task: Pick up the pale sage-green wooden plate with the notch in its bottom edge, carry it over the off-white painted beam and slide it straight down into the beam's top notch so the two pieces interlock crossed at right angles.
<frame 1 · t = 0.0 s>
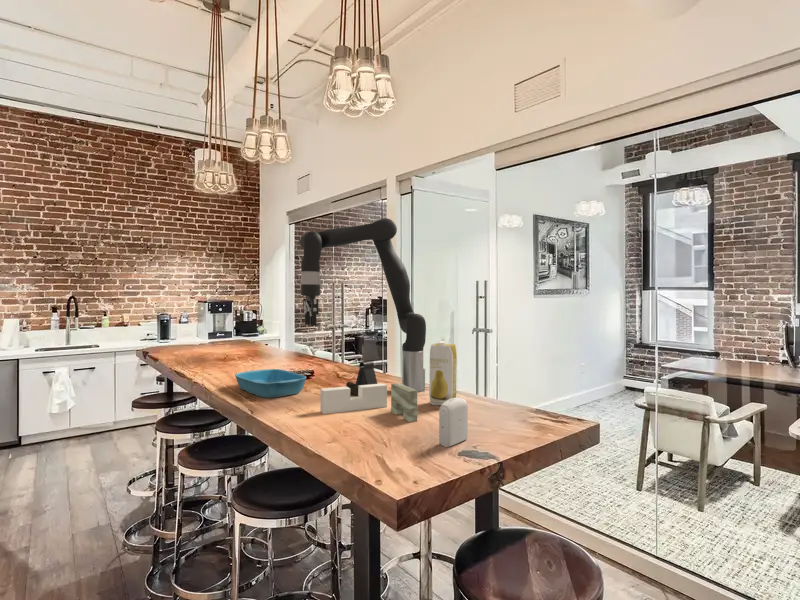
hand: (310, 325, 178), 29 cm above the table, tool pointing down, fingers open, 8 cm apart
hand tool: (355, 396, 187), on the table
casserole dish: (270, 391, 196), on the table
phone stand: (366, 389, 201), on the table
juice carton: (442, 404, 174), on the table
slotted plate: (403, 416, 156), on the table
photo printer: (453, 442, 130), on the table
slotted beam: (354, 409, 166), on the table
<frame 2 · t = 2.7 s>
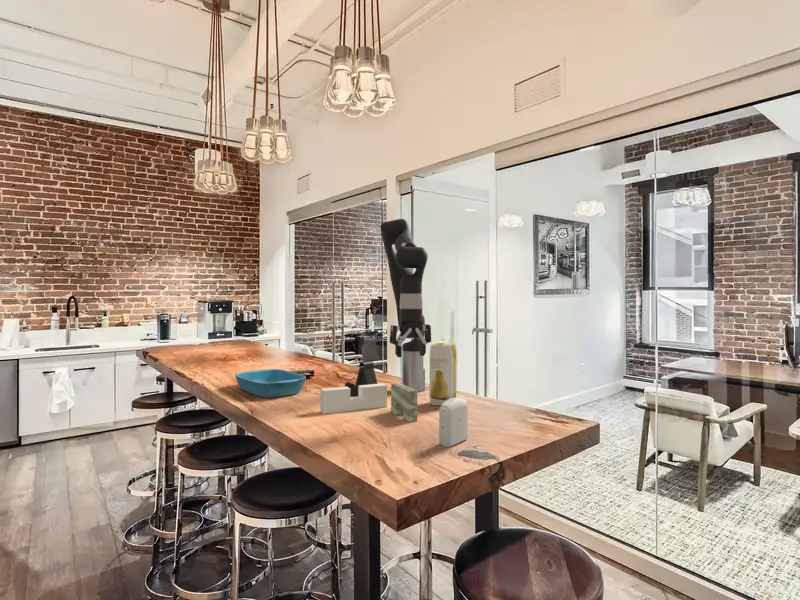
hand: (410, 356, 152), 21 cm above the table, tool pointing down, fingers open, 8 cm apart
nothing on the table moved.
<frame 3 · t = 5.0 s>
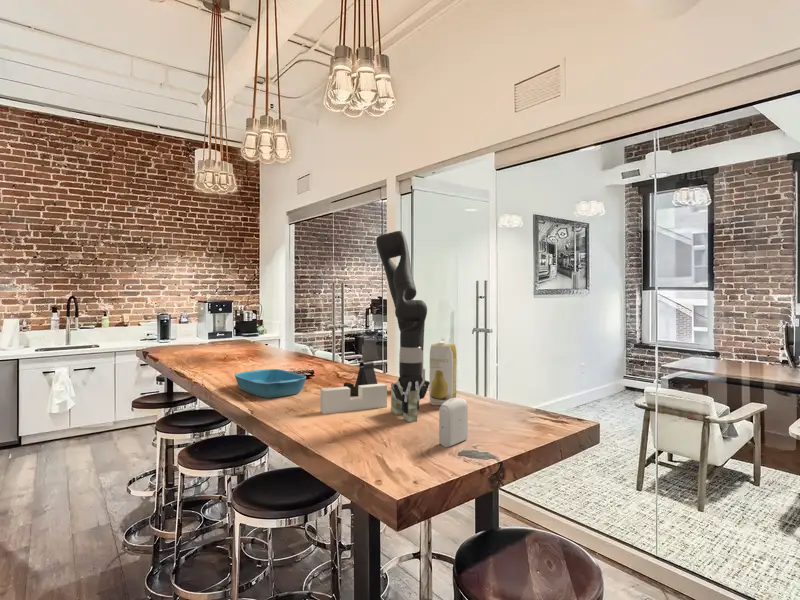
hand: (410, 412, 152), 3 cm above the table, tool pointing down, fingers closed on slotted plate, 3 cm apart
slotted plate: (403, 416, 156), on the table, touching gripper
everything else where it was.
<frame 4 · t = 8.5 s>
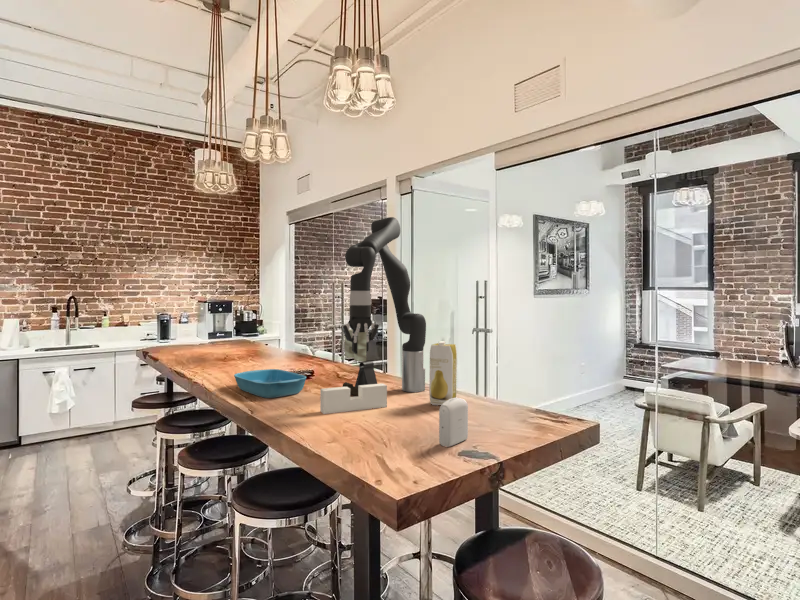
hand: (360, 352, 161), 21 cm above the table, tool pointing down, fingers closed on slotted plate, 3 cm apart
slotted plate: (355, 358, 165), point 18 cm above the table, touching gripper
everything else where it was.
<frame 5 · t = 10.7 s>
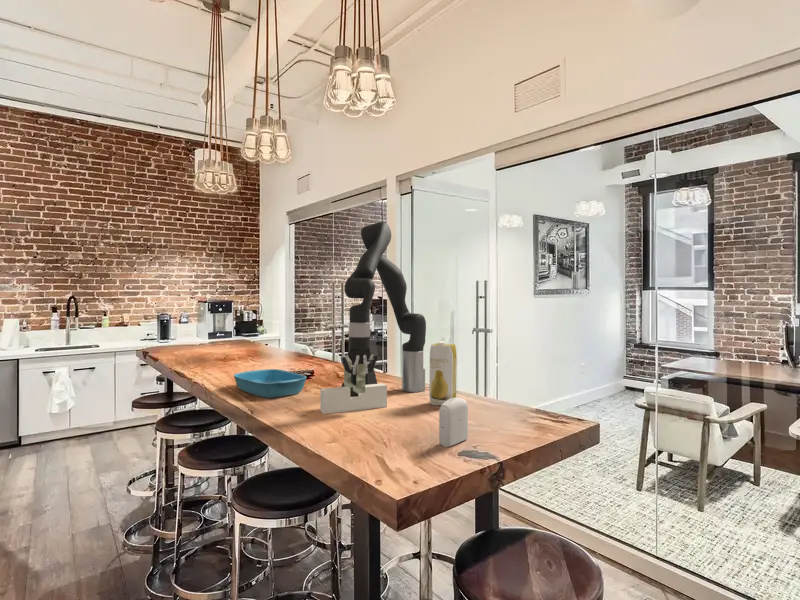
hand: (359, 384, 161), 10 cm above the table, tool pointing down, fingers closed on slotted plate, 3 cm apart
slotted plate: (354, 388, 166), point 7 cm above the table, touching gripper
when the fingers open (4 cm above the table, at t = 12.3 s): slotted plate stays where it is, on the table.
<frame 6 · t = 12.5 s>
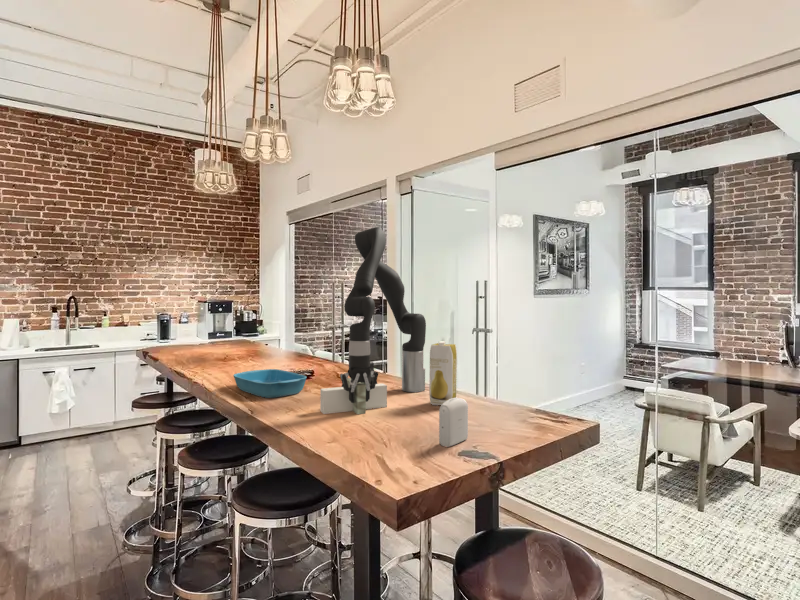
hand: (359, 401, 161), 4 cm above the table, tool pointing down, fingers open, 4 cm apart
slotted plate: (354, 409, 165), on the table
everything else where it was.
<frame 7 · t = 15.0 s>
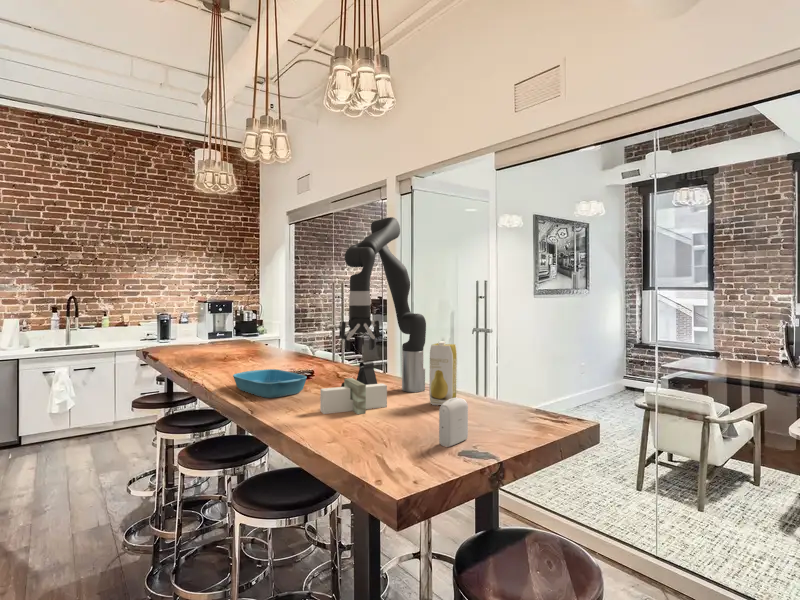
hand: (359, 350, 161), 22 cm above the table, tool pointing down, fingers open, 8 cm apart
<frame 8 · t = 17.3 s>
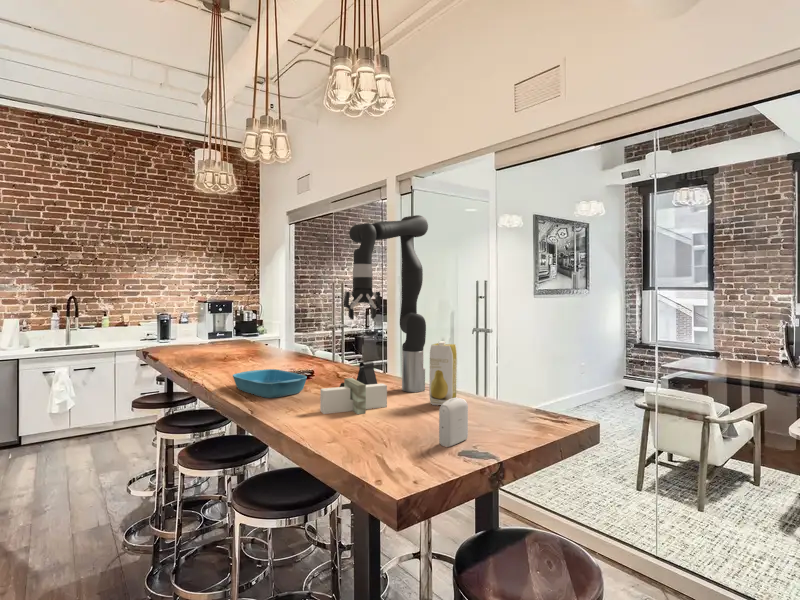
hand: (362, 318, 175), 32 cm above the table, tool pointing down, fingers open, 8 cm apart
at the end: slotted plate 0.2 cm off-centre on the slotted beam, point 0.0 cm above the slotted beam's base; slotted plate tilted 0°; the gripper is holding nothing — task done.
